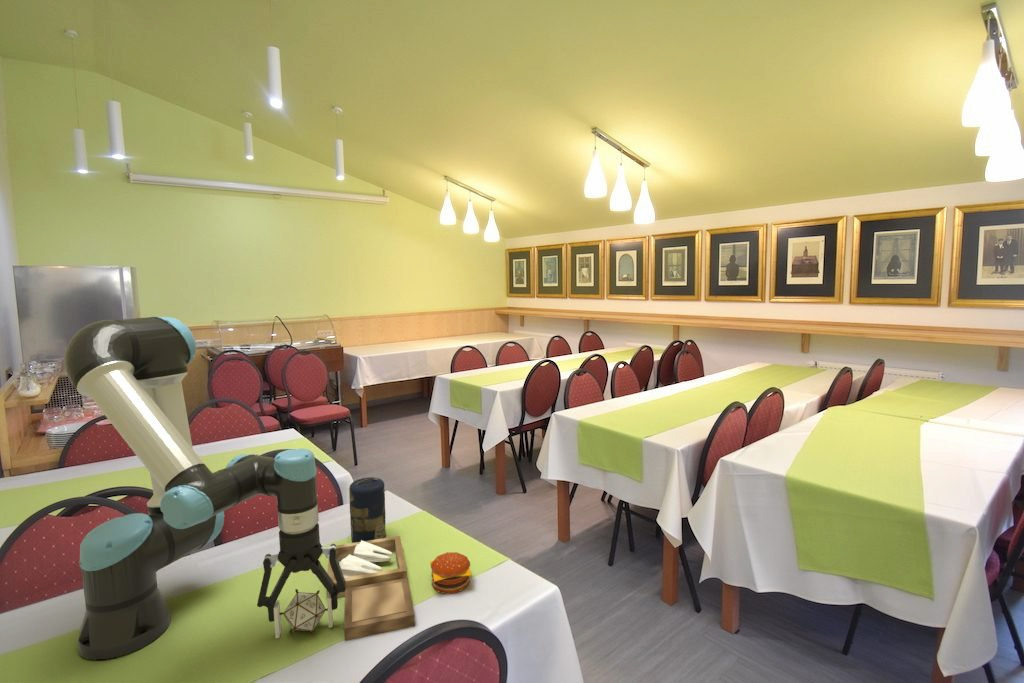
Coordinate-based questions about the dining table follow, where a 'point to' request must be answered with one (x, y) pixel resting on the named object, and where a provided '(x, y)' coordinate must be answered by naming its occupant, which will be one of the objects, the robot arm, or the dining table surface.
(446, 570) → the hamburger
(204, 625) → the dining table surface
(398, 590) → the walnut board
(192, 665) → the dining table surface
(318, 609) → the game die
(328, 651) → the dining table surface
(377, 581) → the oak frame
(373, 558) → the white folded napkins
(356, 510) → the canister
